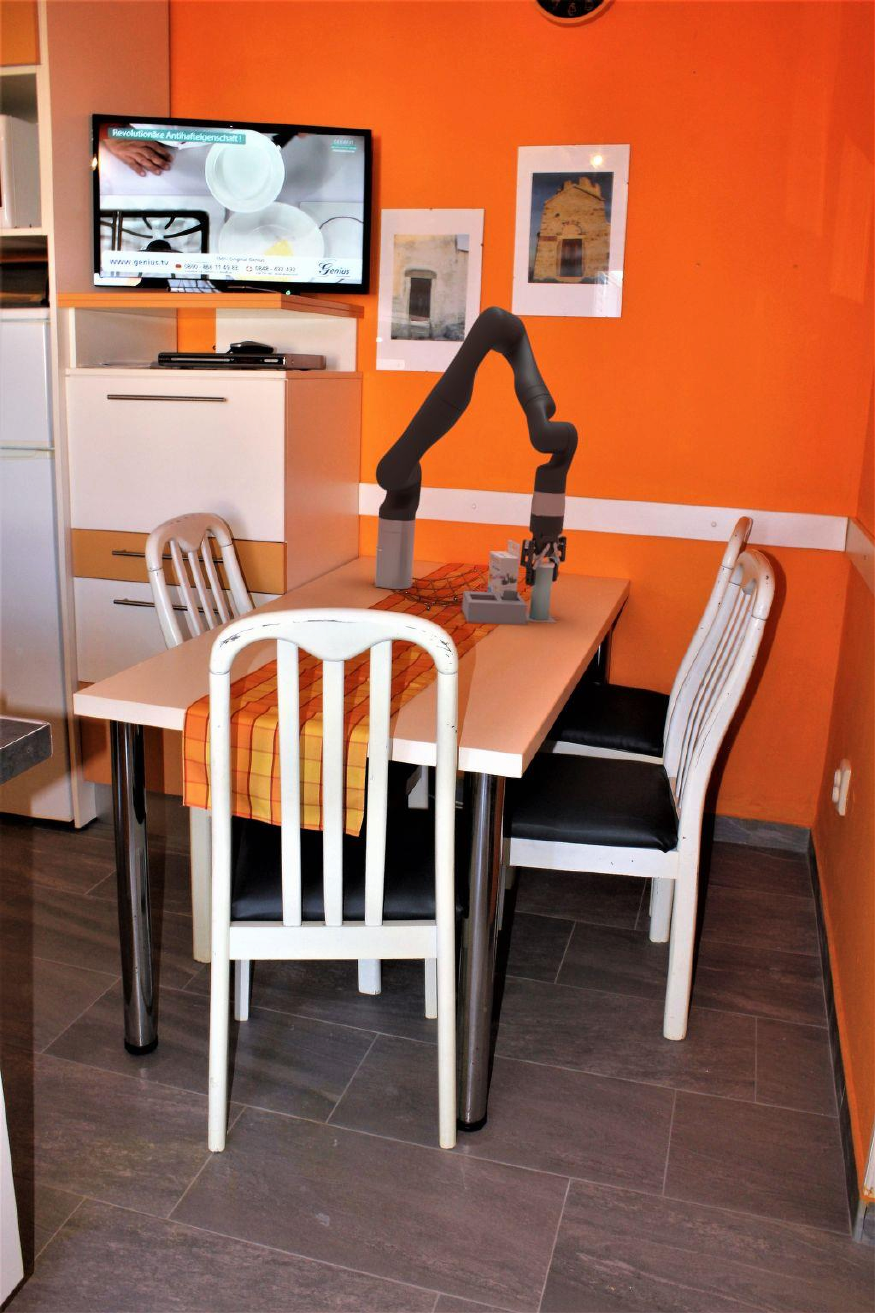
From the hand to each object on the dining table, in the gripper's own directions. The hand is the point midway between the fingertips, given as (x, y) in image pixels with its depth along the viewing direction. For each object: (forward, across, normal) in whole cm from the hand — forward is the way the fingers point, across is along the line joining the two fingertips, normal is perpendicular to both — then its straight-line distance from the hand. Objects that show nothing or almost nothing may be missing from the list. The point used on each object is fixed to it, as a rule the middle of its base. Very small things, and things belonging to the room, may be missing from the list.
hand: (541, 583), depth 254 cm
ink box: (+9, -9, -18) cm, 22 cm away
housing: (+9, +8, -7) cm, 14 cm away
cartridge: (+8, 0, 0) cm, 8 cm away
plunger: (+8, +6, -4) cm, 10 cm away
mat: (+9, 0, 0) cm, 9 cm away
